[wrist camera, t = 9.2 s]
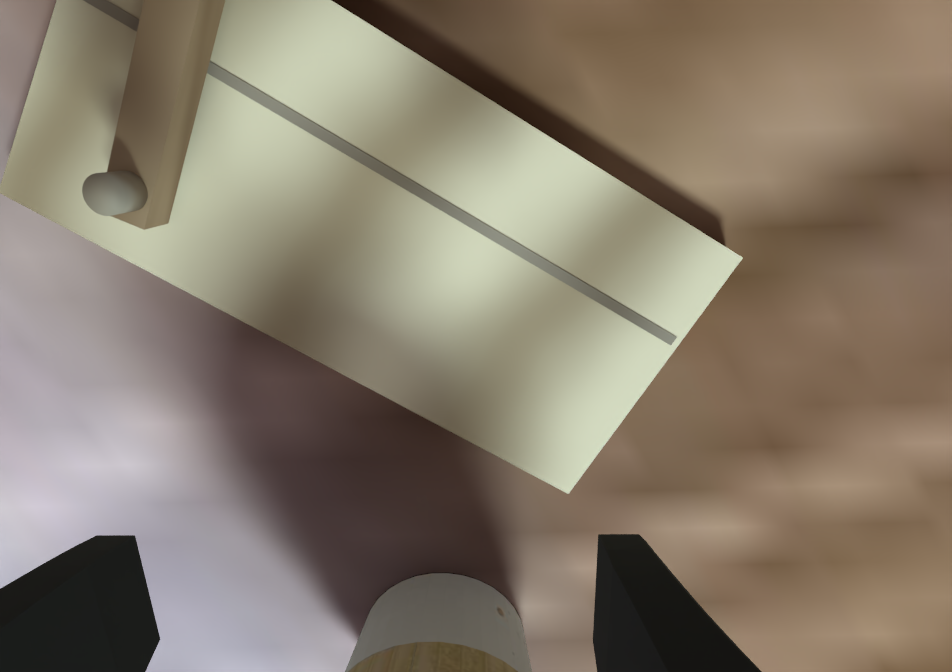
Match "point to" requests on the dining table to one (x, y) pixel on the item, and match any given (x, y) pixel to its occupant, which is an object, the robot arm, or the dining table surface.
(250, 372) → the dining table surface
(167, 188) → the brown block with handle
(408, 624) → the coffee cup
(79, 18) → the board
